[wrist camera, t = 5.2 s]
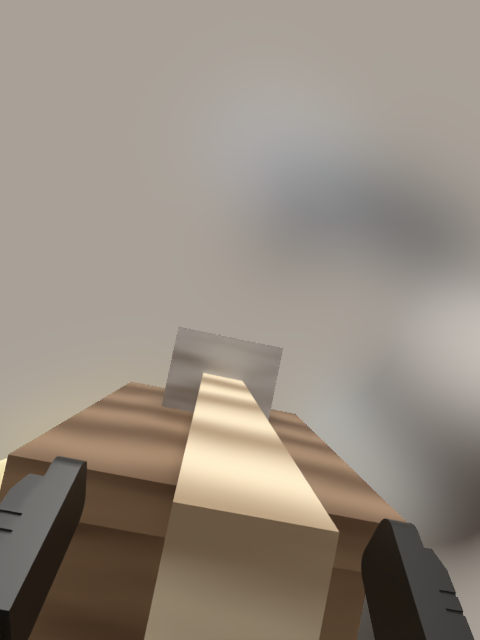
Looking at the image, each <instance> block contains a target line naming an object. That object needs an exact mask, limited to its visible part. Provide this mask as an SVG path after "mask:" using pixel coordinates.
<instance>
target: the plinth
mask: <svg viewBox="0 0 480 640" xmlns="http://www.w3.org/2000/svg"><path fill="white" fill-rule="evenodd" d="M164 393H165V388H160V387H155V386H150V385H145V384H140V383H135V382H130V383H129V384H127V385H125V386H123V387H122V388H120V389H118V390H117V391H115V392H113V393H112V394H110V395H108V396H107V397H105V398H103V399H102V400H100V401H98V402H96V403H95V404H93V405H91V406H90V407H88V408H86V409H85V410H83V411H81V412H80V413H78V414H76V415H74V416H73V417H71V418H69V419H68V420H66V421H64V422H63V423H61V424H59V425H58V426H56V427H54V428H53V429H51V430H49V431H48V432H46V433H44V434H42V435H41V436H39V437H37V438H36V439H34V440H32V441H31V442H29V443H27V444H25V445H24V446H22V447H20V448H19V449H17V450H16V451H14V452H12V453H10V454H9V455H8V458H7V463H6V467H5V472H4V476H3V480H2V485H1V489H0V504H1V502H2V501H3V499H4V497H5V496H6V494H7V493H8V491H9V490H10V489H11V488H12V487H13V486H14V485H16V484H17V483H18V482H19V481H21V480H22V479H23V478H24V477H26V476H27V475H28V474H29V473H30V474H35V475H40V476H44V475H45V474H46V472H47V470H48V469H49V467H50V465H51V463H52V462H53V460H54V459H55V458H56V457H57V456H62V457H68V458H73V459H78V460H83V461H87V478H86V495H85V504H84V508H83V512H82V515H81V518H80V521H79V524H78V526H77V528H76V531H75V533H74V535H73V538H72V540H71V542H70V544H69V547H68V549H67V551H66V554H65V556H64V558H63V561H62V563H61V565H60V567H59V570H58V572H57V574H56V577H55V579H54V581H53V584H52V586H51V588H50V590H49V593H48V595H47V597H46V600H45V602H44V604H43V606H42V609H41V611H40V613H39V616H38V618H37V620H36V623H35V625H34V627H33V629H32V632H31V634H30V636H29V639H28V640H144V637H145V633H146V628H147V623H148V618H149V614H150V609H151V604H152V599H153V595H154V590H155V585H156V580H157V575H158V571H159V566H160V561H161V556H162V552H163V547H164V542H165V537H166V532H167V528H168V523H169V518H170V513H171V509H172V504H173V499H174V495H175V491H176V487H177V482H178V478H179V474H180V470H181V465H182V461H183V457H184V453H185V448H186V444H187V440H188V436H189V431H190V427H191V423H192V419H193V414H194V412H188V411H183V410H178V409H173V408H168V407H163V406H162V402H163V397H164ZM268 421H269V423H270V424H271V426H272V428H273V429H274V431H275V432H276V434H277V435H278V437H279V438H280V440H281V442H282V443H283V445H284V446H285V448H286V449H287V451H288V453H289V454H290V456H291V457H292V459H293V460H294V462H295V463H296V465H297V467H298V468H299V470H300V471H301V473H302V474H303V476H304V478H305V479H306V481H307V482H308V484H309V485H310V487H311V488H312V490H313V492H314V493H315V495H316V496H317V498H318V499H319V501H320V502H321V504H322V506H323V507H324V509H325V510H326V512H327V513H328V515H329V517H330V518H331V520H332V521H333V523H334V524H335V526H336V527H337V529H338V531H339V537H338V543H337V548H336V553H335V558H334V564H333V569H332V574H331V579H330V585H329V590H328V595H327V600H326V605H325V611H324V616H323V621H322V626H321V632H320V637H319V640H357V635H358V630H359V624H360V619H361V613H362V608H363V603H364V598H365V589H364V584H363V579H362V573H361V561H362V555H363V552H364V550H365V548H366V546H367V545H368V543H369V541H370V539H371V538H372V536H373V534H374V532H375V530H376V529H377V527H378V525H379V523H380V522H381V520H382V519H385V518H386V519H391V520H396V521H402V522H406V521H405V520H404V519H403V518H402V517H401V516H400V515H399V514H398V513H397V512H396V511H395V510H394V509H393V508H392V507H391V506H390V505H389V504H387V503H386V502H385V501H384V500H383V499H382V498H381V497H380V496H379V495H378V494H377V493H376V492H375V491H374V490H373V489H372V488H371V487H370V486H369V485H368V484H367V483H366V482H365V481H364V480H363V479H362V478H361V477H360V476H359V475H358V474H356V472H354V471H353V470H352V469H351V468H350V467H349V466H348V465H347V464H346V463H345V462H344V461H343V460H342V459H341V458H340V457H339V456H338V455H337V454H336V453H335V452H334V451H333V450H332V449H331V448H330V447H329V446H328V445H327V444H326V443H325V442H324V441H323V440H321V439H320V438H319V437H318V436H317V435H316V434H315V433H314V432H313V431H312V430H311V429H310V428H309V427H308V426H307V425H306V424H305V423H304V422H303V421H302V420H301V419H300V418H299V417H298V416H297V415H296V414H292V413H287V412H282V411H277V410H270V415H269V420H268Z"/></svg>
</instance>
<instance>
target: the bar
mask: <svg viewBox="0 0 480 640" xmlns="http://www.w3.org/2000/svg"><path fill="white" fill-rule="evenodd" d="M282 350H283V348H279V347H274V346H270V345H265V344H260V343H255V342H250V341H245V340H240V339H236V338H231V337H226V336H221V335H216V334H212V333H207V332H202V331H197V330H192V329H187V328H182V327H178V332H177V337H176V341H175V346H174V351H173V355H172V360H171V365H170V370H169V374H168V379H167V383H166V388H165V393H164V397H163V402H162V406H163V407H168V408H173V409H178V410H183V411H188V412H194V414H193V419H192V423H191V427H190V431H189V436H188V440H187V444H186V448H185V453H184V457H183V461H182V465H181V470H180V474H179V478H178V482H177V487H176V491H175V495H174V499H173V504H172V509H171V513H170V518H169V523H168V528H167V532H166V537H165V542H164V547H163V552H162V556H161V561H160V566H159V571H158V575H157V580H156V585H155V590H154V595H153V599H152V604H151V609H150V614H149V618H148V623H147V628H146V633H145V637H144V640H319V637H320V632H321V626H322V621H323V616H324V611H325V605H326V600H327V595H328V590H329V585H330V579H331V574H332V569H333V564H334V558H335V553H336V548H337V543H338V537H339V531H338V529H337V527H336V526H335V524H334V523H333V521H332V520H331V518H330V517H329V515H328V513H327V512H326V510H325V509H324V507H323V506H322V504H321V502H320V501H319V499H318V498H317V496H316V495H315V493H314V492H313V490H312V488H311V487H310V485H309V484H308V482H307V481H306V479H305V478H304V476H303V474H302V473H301V471H300V470H299V468H298V467H297V465H296V463H295V462H294V460H293V459H292V457H291V456H290V454H289V453H288V451H287V449H286V448H285V446H284V445H283V443H282V442H281V440H280V438H279V437H278V435H277V434H276V432H275V431H274V429H273V428H272V426H271V424H270V423H269V421H268V420H269V415H270V410H271V405H272V400H273V395H274V389H275V385H276V380H277V375H278V370H279V365H280V360H281V355H282Z"/></svg>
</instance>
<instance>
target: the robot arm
mask: <svg viewBox="0 0 480 640" xmlns="http://www.w3.org/2000/svg"><path fill="white" fill-rule="evenodd" d="M86 478H87V461H83V460H78V459H73V458H68V457H62V456H57V457H56V458H55V459H54V460H53V462H52V463H51V465H50V467H49V469H48V470H47V472H46V474H45V475H44V476H40V475H35V474H30V473H29V474H28V475H27V476H26V477H24V478H23V479H22V480H21V481H19V482H18V483H17V484H16V485H14V486H13V487H12V488H11V489H10V490H9V491H8V493H7V494H6V496H5V497H4V499H3V501H2V502H1V504H0V640H28V639H29V636H30V634H31V632H32V629H33V627H34V625H35V623H36V620H37V618H38V616H39V613H40V611H41V609H42V606H43V604H44V602H45V600H46V597H47V595H48V593H49V590H50V588H51V586H52V584H53V581H54V579H55V577H56V574H57V572H58V570H59V567H60V565H61V563H62V561H63V558H64V556H65V554H66V551H67V549H68V547H69V544H70V542H71V540H72V538H73V535H74V533H75V531H76V528H77V526H78V524H79V521H80V518H81V515H82V512H83V508H84V504H85V495H86ZM361 573H362V579H363V584H364V589H365V594H366V598H367V603H368V608H369V613H370V618H371V623H372V627H373V632H374V637H375V640H474V638H473V635H472V633H471V630H470V627H469V625H468V622H467V620H466V617H465V616H463V610H462V607H461V604H460V602H459V599H458V597H456V595H455V593H456V592H455V589H454V587H453V585H452V582H451V579H450V577H449V574H448V571H447V570H446V568H445V567H444V565H443V564H442V562H441V561H440V560H439V558H438V557H437V556H436V554H435V553H434V551H433V550H432V549H428V548H424V547H423V544H422V542H421V539H420V536H419V533H418V531H417V529H416V527H415V526H414V525H413V524H412V523H407V522H402V521H396V520H391V519H386V518H385V519H382V520H381V522H380V523H379V525H378V527H377V529H376V530H375V532H374V534H373V536H372V538H371V539H370V541H369V543H368V545H367V546H366V548H365V550H364V552H363V555H362V561H361Z"/></svg>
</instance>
